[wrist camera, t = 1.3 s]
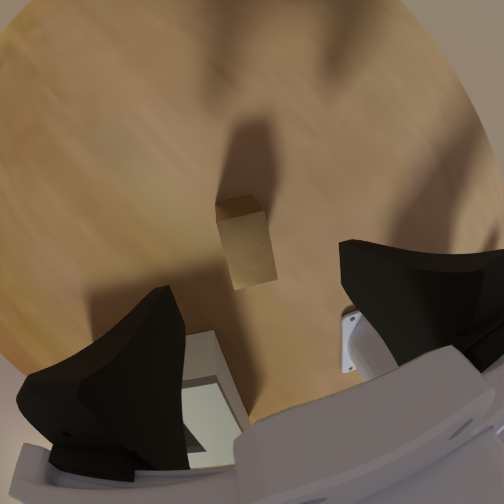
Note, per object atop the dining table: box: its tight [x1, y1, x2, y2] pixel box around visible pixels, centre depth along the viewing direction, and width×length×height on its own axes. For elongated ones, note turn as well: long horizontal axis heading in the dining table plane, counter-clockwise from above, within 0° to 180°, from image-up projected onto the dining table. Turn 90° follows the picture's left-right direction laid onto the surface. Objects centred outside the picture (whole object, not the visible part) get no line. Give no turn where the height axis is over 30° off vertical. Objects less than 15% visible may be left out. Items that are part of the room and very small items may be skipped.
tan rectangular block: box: [215, 195, 278, 290], centre depth 17 cm, size 2×4×5 cm, turn 12°
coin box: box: [182, 330, 250, 468], centre depth 21 cm, size 12×14×6 cm
